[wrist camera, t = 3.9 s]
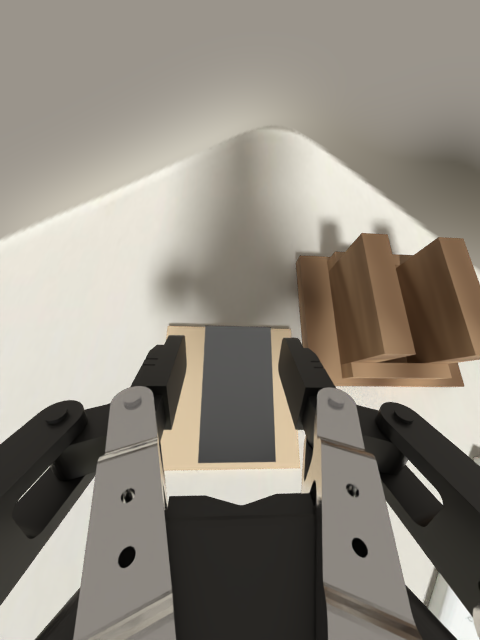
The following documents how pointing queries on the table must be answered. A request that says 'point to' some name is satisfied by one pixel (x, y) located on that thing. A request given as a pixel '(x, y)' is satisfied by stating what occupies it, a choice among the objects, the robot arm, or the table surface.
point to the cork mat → (184, 435)
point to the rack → (391, 313)
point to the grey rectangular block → (237, 396)
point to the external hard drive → (452, 607)
